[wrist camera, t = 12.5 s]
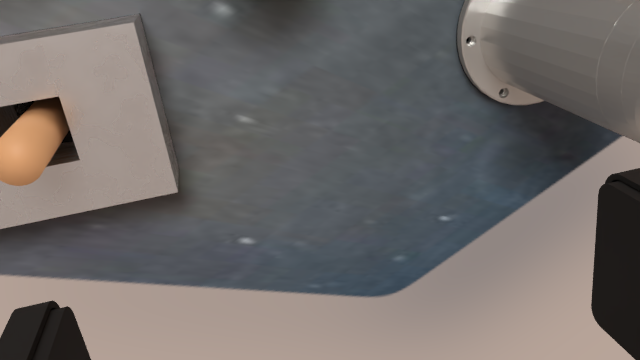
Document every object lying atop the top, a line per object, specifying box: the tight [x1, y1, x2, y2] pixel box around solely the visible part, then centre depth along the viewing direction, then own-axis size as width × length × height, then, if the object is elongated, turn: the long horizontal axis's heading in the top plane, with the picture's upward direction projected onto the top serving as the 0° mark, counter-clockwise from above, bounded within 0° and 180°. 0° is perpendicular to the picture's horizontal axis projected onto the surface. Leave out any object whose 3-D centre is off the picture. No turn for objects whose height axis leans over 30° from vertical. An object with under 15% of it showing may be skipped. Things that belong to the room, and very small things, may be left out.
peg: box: [0, 97, 70, 186], centre depth 38 cm, size 3×3×10 cm
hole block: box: [0, 14, 179, 229], centre depth 40 cm, size 16×12×5 cm
